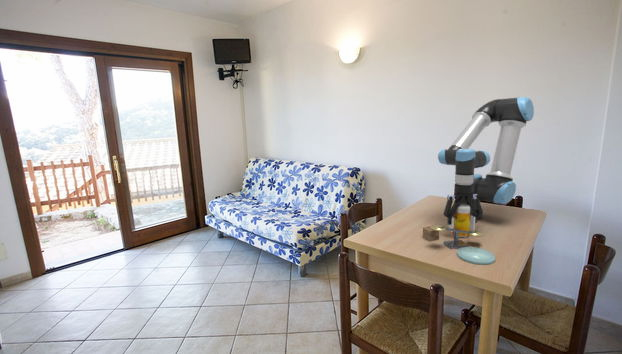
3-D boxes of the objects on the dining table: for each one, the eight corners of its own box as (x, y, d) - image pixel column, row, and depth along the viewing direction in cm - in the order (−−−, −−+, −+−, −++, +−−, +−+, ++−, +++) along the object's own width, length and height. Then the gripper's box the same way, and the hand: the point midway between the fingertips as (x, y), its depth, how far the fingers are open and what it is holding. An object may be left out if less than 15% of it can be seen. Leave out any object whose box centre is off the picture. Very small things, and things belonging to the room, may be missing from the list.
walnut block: (431, 235, 138) (431, 225, 137) (439, 239, 133) (439, 229, 132) (422, 237, 137) (422, 227, 136) (429, 241, 132) (430, 231, 131)
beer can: (451, 233, 139) (452, 203, 136) (463, 232, 140) (465, 202, 137) (458, 238, 133) (460, 207, 130) (471, 237, 134) (473, 206, 131)
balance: (475, 240, 130) (476, 221, 128) (485, 246, 124) (486, 226, 122) (427, 243, 129) (427, 224, 128) (434, 250, 123) (434, 230, 121)
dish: (481, 248, 122) (481, 245, 122) (502, 263, 109) (503, 260, 109) (451, 250, 122) (451, 247, 121) (468, 265, 109) (469, 262, 109)
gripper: (482, 180, 136) (479, 226, 140) (436, 183, 135) (434, 228, 139) (493, 183, 128) (489, 231, 132) (444, 186, 128) (442, 234, 132)
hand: (461, 230), depth 136 cm, fingers open, 9 cm apart
